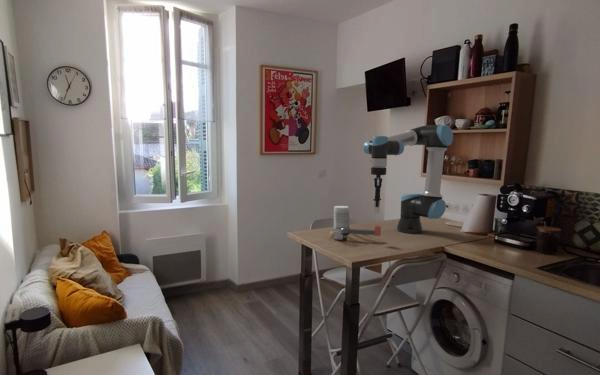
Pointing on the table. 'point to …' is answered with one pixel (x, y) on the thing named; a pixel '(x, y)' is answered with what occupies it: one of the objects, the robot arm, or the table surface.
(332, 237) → the walnut
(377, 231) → the lever
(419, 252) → the table surface
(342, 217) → the supplement tub
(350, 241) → the cracker base
